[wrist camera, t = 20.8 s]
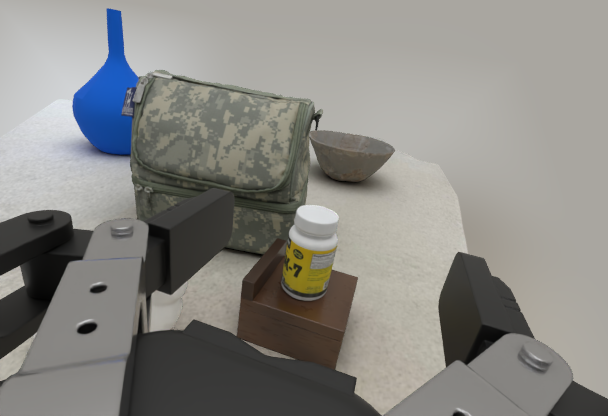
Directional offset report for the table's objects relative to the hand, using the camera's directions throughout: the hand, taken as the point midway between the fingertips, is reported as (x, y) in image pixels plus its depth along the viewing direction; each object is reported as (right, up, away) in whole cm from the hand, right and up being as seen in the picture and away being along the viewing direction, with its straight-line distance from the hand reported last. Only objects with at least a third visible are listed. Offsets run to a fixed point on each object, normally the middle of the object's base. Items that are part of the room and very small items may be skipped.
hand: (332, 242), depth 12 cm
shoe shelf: (-2, -11, +24) cm, 27 cm away
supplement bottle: (-1, -7, +22) cm, 23 cm away
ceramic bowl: (+9, +9, +76) cm, 77 cm away
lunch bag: (-14, -2, +42) cm, 44 cm away
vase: (-45, +15, +69) cm, 84 cm away
